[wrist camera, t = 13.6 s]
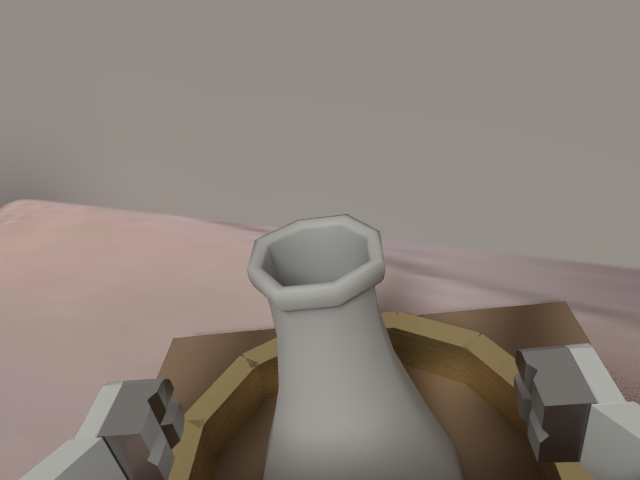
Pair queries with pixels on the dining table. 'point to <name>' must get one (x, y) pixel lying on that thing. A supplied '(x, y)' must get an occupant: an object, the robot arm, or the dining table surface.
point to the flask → (340, 363)
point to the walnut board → (438, 392)
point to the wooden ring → (412, 350)
